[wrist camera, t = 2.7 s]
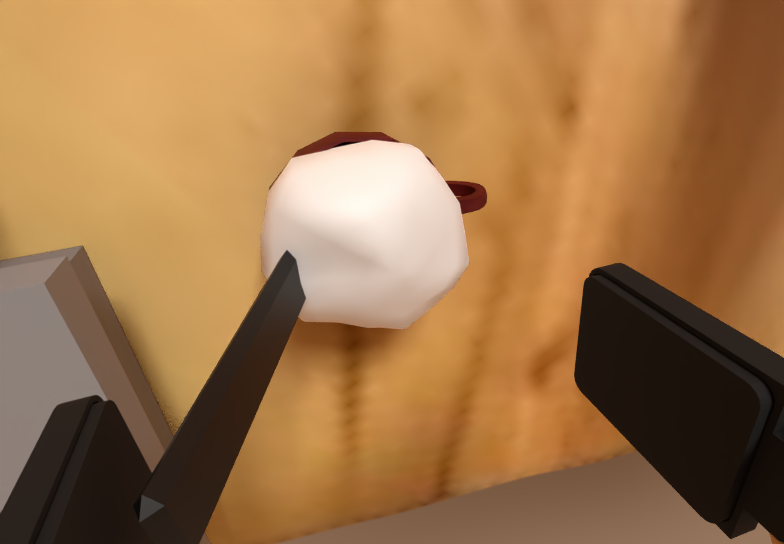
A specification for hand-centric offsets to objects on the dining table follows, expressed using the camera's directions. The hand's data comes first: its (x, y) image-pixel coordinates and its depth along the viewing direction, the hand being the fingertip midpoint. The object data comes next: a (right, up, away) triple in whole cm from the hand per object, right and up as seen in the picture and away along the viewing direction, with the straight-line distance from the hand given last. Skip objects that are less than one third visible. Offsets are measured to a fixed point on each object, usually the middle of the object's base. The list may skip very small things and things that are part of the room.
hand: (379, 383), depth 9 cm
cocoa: (-2, +5, +9) cm, 10 cm away
